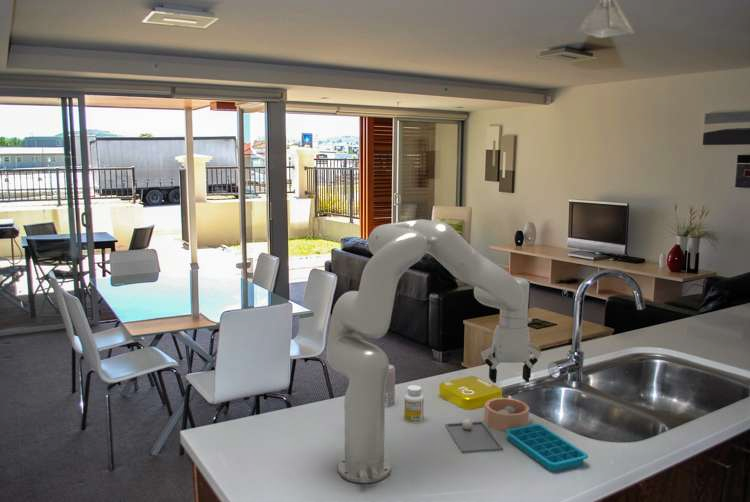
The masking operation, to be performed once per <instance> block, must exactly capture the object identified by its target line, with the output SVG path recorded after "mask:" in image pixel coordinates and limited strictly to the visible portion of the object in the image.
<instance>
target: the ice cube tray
mask: <svg viewBox="0 0 750 502" xmlns="http://www.w3.org/2000/svg"><path fill="white" fill-rule="evenodd" d="M504 433H505V435H507V436H508V441H509V442H510V443H511V444H513V445H515V446H516V447H517V448H518V449H520V450H521V451H522V452H524V454H527V456H530V457H531V458H532V460H534V461H536V462H537V463H539V464H540V465H541V466H543V467H545V468H546V469H548V470H549V471H552V472H558V471H563V470H566V469H570V468H574V467H576V468H581V467H583V465H584V460H586V459H588V458H589V455H588V453H586V452H585V451H584V450H581V449H580V448H578V447H577V446H575V445H573V444H572V443H570V441H568V440H566V439H564V438H563V437H561V435H559V434H557V433H555V432H554V431H553V430H551V429H549V428H547V427H545V426H544V425H542V424H539V423H534V424H528V425H527V426H522V427H517V428H512V429H507V430H506V431H504Z"/></svg>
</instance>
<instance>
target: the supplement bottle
mask: <svg viewBox="0 0 750 502" xmlns="http://www.w3.org/2000/svg"><path fill="white" fill-rule="evenodd" d="M406 389H407V390H406V391H407V392H406V393H405V395H404V421H406V422H408V423H415V424H416V423H420V422H421V423H422V421H423V420H424V399H425V398H424V395H423V394H422V387H421V386H420V385H419V384H418V385H417V384H412V385H411V384H410V385H409V386H407V388H406Z"/></svg>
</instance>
